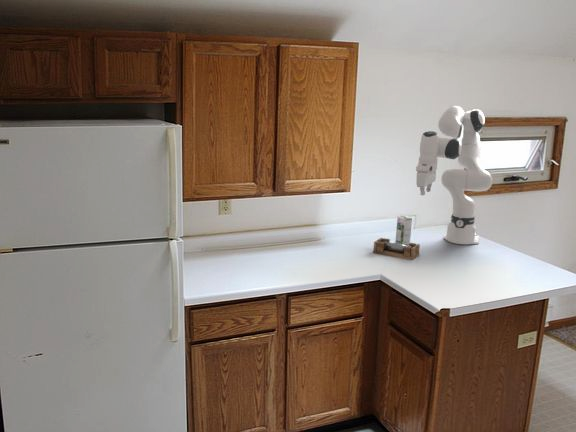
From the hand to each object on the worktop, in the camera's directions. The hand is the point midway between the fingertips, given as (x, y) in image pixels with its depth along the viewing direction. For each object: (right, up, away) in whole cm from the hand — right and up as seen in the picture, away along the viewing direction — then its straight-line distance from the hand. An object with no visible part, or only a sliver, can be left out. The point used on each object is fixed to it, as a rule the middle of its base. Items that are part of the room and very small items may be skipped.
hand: (425, 193), depth 285 cm
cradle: (-14, -30, +3) cm, 33 cm away
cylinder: (-14, -29, +3) cm, 32 cm away
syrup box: (-7, -26, +22) cm, 35 cm away
